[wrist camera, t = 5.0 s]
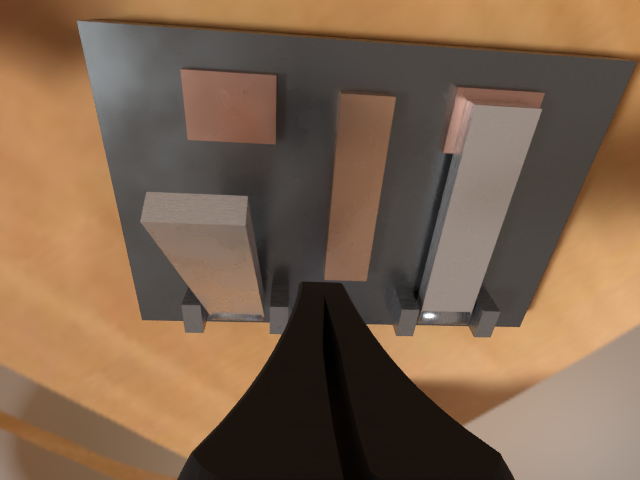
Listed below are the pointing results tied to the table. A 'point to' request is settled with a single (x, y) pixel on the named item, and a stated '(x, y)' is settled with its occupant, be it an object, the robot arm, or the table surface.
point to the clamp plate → (337, 156)
